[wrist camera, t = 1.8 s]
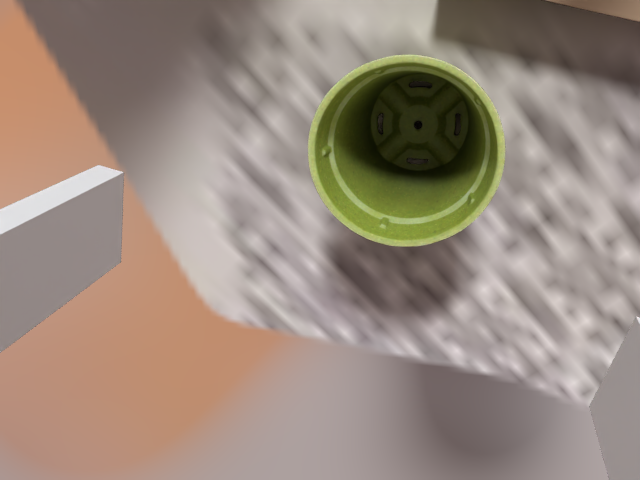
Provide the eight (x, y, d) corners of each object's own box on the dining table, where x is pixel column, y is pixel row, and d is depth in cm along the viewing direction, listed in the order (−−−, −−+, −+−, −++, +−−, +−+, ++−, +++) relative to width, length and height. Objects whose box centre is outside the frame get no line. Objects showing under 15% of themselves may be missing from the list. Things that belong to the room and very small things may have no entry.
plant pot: (340, 45, 34) (300, 60, 26) (503, 36, 32) (511, 50, 24) (347, 192, 38) (314, 243, 30) (495, 195, 35) (499, 251, 28)
